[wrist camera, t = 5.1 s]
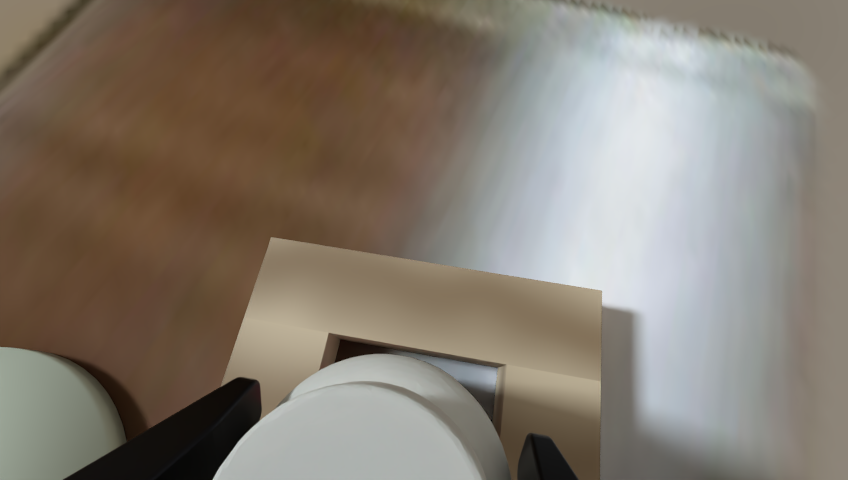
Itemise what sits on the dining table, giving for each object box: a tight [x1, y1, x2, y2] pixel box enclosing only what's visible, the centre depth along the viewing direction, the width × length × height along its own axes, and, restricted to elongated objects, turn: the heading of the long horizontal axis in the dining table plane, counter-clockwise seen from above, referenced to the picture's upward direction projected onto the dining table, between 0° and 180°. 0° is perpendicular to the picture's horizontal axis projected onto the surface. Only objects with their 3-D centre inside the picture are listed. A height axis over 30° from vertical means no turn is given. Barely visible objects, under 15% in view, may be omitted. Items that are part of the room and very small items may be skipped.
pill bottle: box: [213, 354, 511, 480], centre depth 9 cm, size 5×5×10 cm
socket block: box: [221, 237, 602, 480], centre depth 14 cm, size 13×13×2 cm
